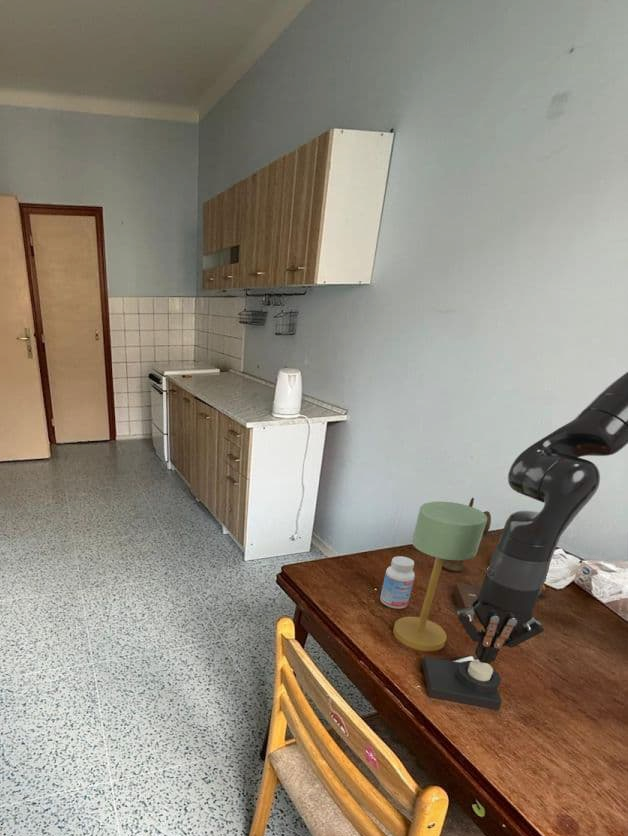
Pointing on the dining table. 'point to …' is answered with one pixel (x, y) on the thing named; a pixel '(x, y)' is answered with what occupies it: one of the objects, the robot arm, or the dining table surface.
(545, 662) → the dining table surface
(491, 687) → the switch base
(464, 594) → the dimmer
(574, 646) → the dining table surface
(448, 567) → the kendama
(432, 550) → the table lamp
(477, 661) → the lamp switch
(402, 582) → the pill bottle
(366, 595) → the dining table surface
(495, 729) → the dining table surface
